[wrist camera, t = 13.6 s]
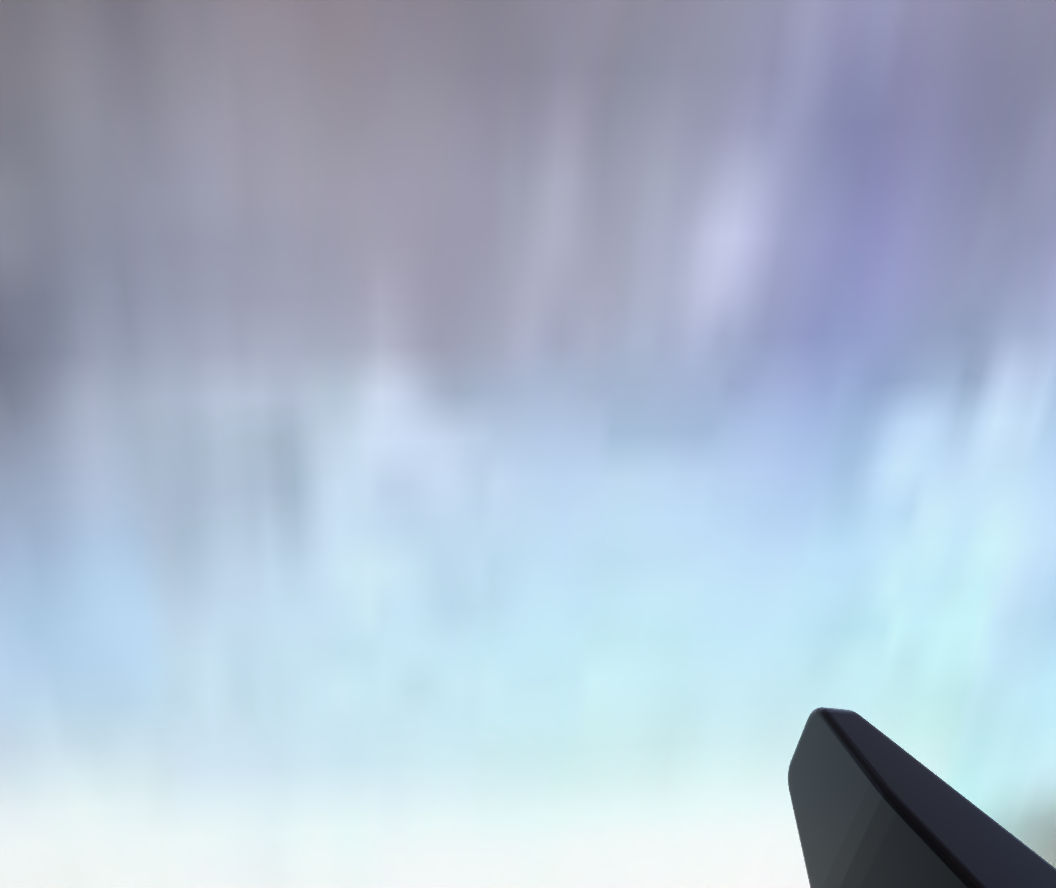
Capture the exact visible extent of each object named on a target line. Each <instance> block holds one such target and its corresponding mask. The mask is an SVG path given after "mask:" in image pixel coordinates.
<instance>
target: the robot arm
mask: <svg viewBox="0 0 1056 888" xmlns="http://www.w3.org/2000/svg"><path fill="white" fill-rule="evenodd" d="M788 785H789V791H790V796H791V800H792V805H793V810H794V814H795V819H796V823H797V828H798V833H799V837H800V842H801V846H802V851H803V856H804V860H805V865H806V869H807V874H808V879H809V883H810V888H1056V869H1055V868H1054V867H1053V866H1052V865H1050V864H1049V863H1048V862H1046V861H1045V860H1044V859H1043V858H1041V857H1040V856H1039V855H1037V854H1036V853H1035V852H1034V851H1032V850H1031V849H1030V848H1029V847H1027V846H1026V845H1025V844H1023V843H1022V842H1021V841H1020V840H1018V839H1017V838H1016V837H1014V836H1013V835H1012V834H1011V833H1009V832H1008V831H1007V830H1006V829H1004V828H1003V827H1002V826H1000V825H999V824H998V823H997V822H995V821H994V820H993V819H991V818H990V817H989V816H988V815H986V814H985V813H984V812H983V811H981V810H980V809H979V808H977V807H976V806H975V805H974V804H972V803H971V802H970V801H969V800H967V799H966V798H965V797H963V796H962V795H961V794H960V793H958V792H957V791H956V790H954V789H953V788H952V787H951V786H949V785H948V784H947V783H946V782H944V781H943V780H942V779H940V778H939V777H938V776H937V775H935V774H934V773H933V772H931V771H930V770H929V769H928V768H926V767H925V766H924V765H923V764H921V763H920V762H919V761H917V760H916V759H915V758H914V757H912V756H911V755H910V754H908V753H907V752H906V751H905V750H903V749H902V748H901V747H900V746H898V745H897V744H896V743H894V742H893V741H892V740H891V739H889V738H888V737H887V736H885V735H884V734H883V733H882V732H880V731H879V730H878V729H877V728H875V727H874V726H873V725H871V724H870V723H869V722H868V721H866V720H865V719H864V718H863V717H861V716H860V715H859V714H857V713H856V712H853V711H850V710H844V709H834V708H823V707H822V708H817V709H815V710H814V711H813V712H812V713H811V714H810V716H809V718H808V720H807V722H806V725H805V727H804V730H803V732H802V735H801V737H800V740H799V742H798V745H797V747H796V750H795V752H794V755H793V757H792V760H791V763H790V766H789V772H788Z"/></svg>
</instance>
